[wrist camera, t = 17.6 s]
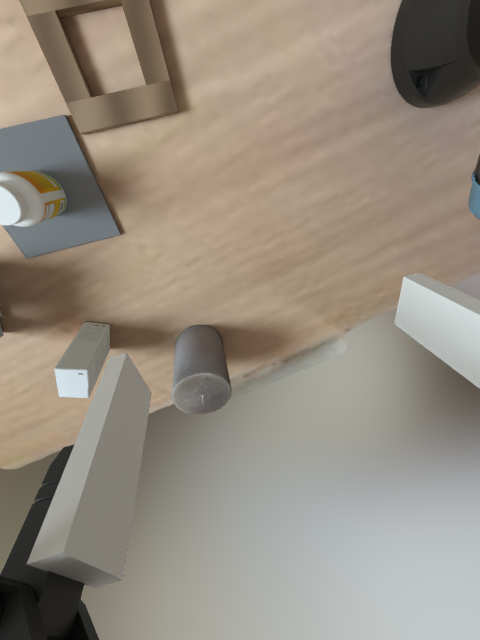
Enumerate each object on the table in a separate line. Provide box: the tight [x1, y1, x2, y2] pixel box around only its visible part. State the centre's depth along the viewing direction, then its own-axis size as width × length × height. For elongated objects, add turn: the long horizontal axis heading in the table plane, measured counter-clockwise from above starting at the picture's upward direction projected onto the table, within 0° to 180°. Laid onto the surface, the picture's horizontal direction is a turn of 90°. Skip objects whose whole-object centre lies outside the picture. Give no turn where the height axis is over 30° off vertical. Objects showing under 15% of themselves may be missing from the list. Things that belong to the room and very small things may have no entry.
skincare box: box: [55, 322, 110, 398], centre depth 40 cm, size 6×4×12 cm
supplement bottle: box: [0, 171, 67, 227], centre depth 28 cm, size 5×5×10 cm
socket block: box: [19, 0, 178, 134], centre depth 26 cm, size 12×12×1 cm
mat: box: [0, 115, 121, 258], centre depth 32 cm, size 14×14×1 cm
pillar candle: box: [171, 325, 231, 414], centre depth 44 cm, size 10×10×15 cm
